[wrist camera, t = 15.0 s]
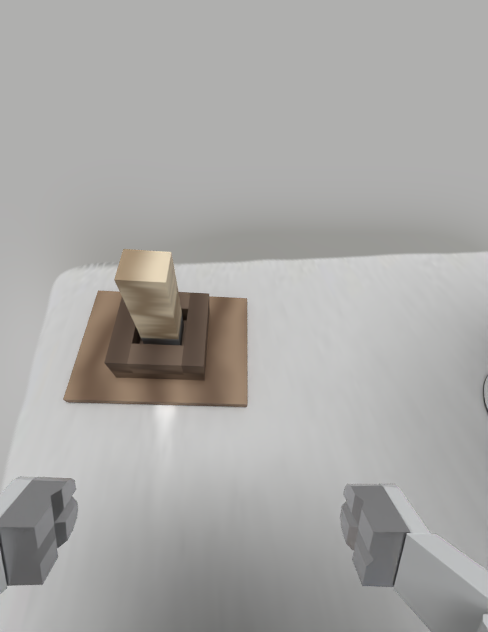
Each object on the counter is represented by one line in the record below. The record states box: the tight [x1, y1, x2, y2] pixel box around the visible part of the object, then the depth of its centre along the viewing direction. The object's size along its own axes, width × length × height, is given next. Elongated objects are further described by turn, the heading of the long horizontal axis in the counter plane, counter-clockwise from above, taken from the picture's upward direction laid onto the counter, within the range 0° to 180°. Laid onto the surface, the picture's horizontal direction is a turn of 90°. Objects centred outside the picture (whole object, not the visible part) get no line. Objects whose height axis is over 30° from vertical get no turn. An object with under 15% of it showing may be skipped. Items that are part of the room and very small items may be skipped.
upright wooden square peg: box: [114, 249, 184, 346], centre depth 33 cm, size 4×4×14 cm
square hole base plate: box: [63, 291, 247, 407], centre depth 39 cm, size 22×16×6 cm
